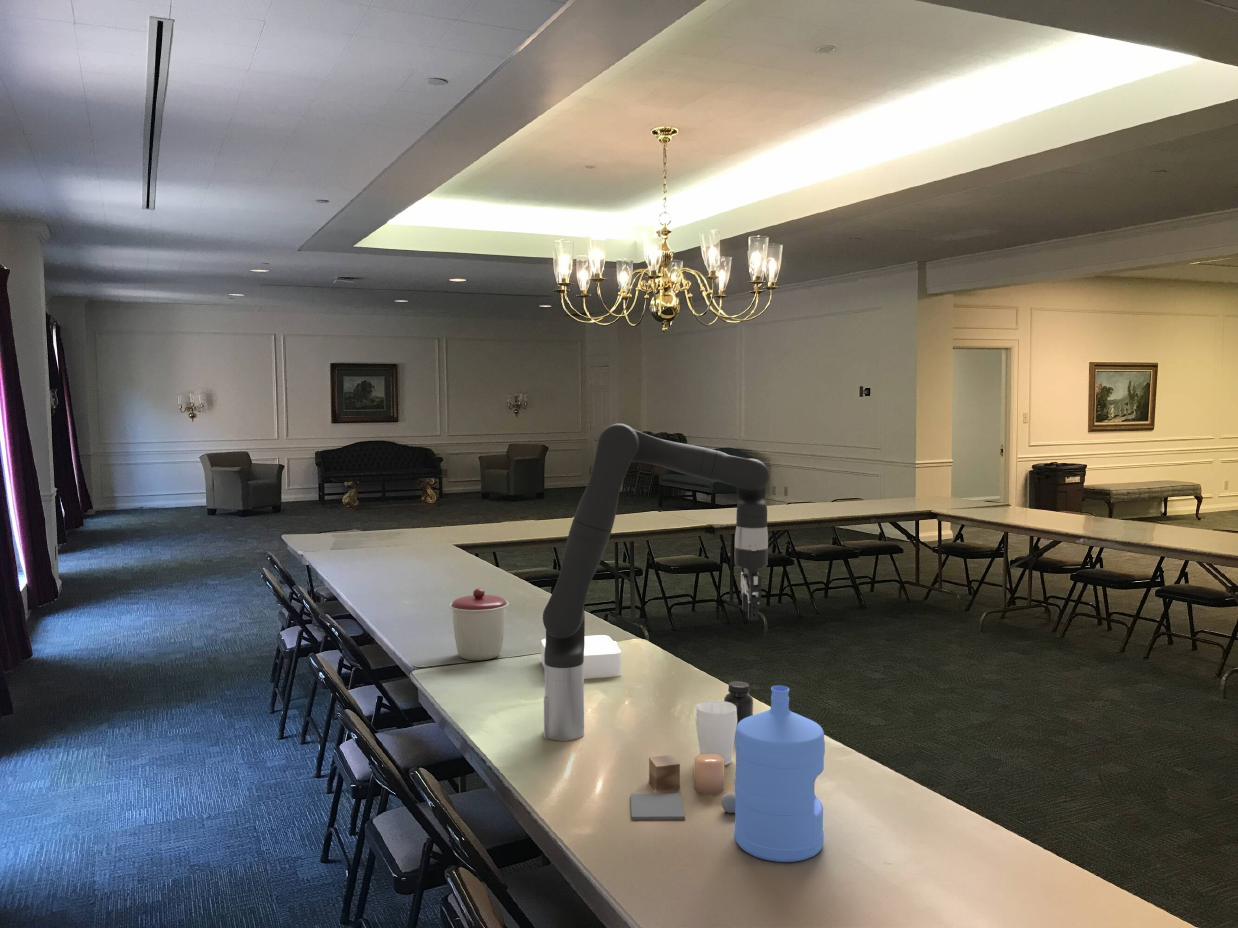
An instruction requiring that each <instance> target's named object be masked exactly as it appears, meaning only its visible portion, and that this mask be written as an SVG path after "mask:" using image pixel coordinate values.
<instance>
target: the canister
mask: <svg viewBox="0 0 1238 928" xmlns="http://www.w3.org/2000/svg"><path fill="white" fill-rule="evenodd" d="M472 594H473V595H465V596H462V597H459V598H458V597H457V598H456V599H454V600H453V601H452V602H450V603H449V605H448V607H449V608H450V609H451V615H452V616H451V617H452V624H453V634H454V640H455V645H456V646H455V647H456V650H457V653H458V655H459V656H460V657H461V658H463V659H465V660H468V661H486V660H491V659H494V658H496V657H498V656H499V655H500V654H501V652H502V649H503V644H504V637H505V630H506V629H505V627H506V617H507V607H508V606H509V601H508V600H506V599H504V598H503V597H500V596H497V595H493V594H486V593H485V590H484V589H483V588H475V589H474V590H473V592H472Z"/></svg>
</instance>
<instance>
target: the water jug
mask: <svg viewBox="0 0 1238 928" xmlns="http://www.w3.org/2000/svg"><path fill="white" fill-rule="evenodd" d="M770 691H771V697H770V705H771V706H770V709H768V710H765V711H762V712H758V713H754V714H753V715H752V716H749V717H746V718H744V719H742V720H741V721H740V722H739V723H738V724H737V727H736V735H735V740H734V747H735V748H734V749H735V779H734V794H735V796H736V811H735V812H734V815H735V819H734V821H735V823H734V839H735V841H736V843H737V845H738V846H739V848H741V849H742V850H743V851H744V852H746V853H748V854H750V855H751V856H753V857H755V858H758V859H762V860H765V861H770V862H777V863H795V862H800V861H801V862H802V861H805V860H807V859H810V858H812V857H814V856H816V855H817V854H818V853H819V852H820V851H821V850H822V848H823V846H824V834H825V833H824V832H825V831H824V807H823V803H822V801H821V799H820V798H818V797H817V796H816V794H815V784H816V779H817V778H818V777H819V776H820V775H821V774H822V773H823V771H824V768H825V763H824V762H825V752H826V751H825V750H826V742H825V731H824V730H823V728H822V727H821V725H820V724H818V722H816V721H814V720H812V719H810V718H807V717H805V716H802V715H800V714H799V713H796V712H793V711H791V710H790V708H789V706H790V705H789V704H790V703H789V702H790V697H789V692H790V688H789V687H787V686H786V685H785V686H784V685H773V686H771V688H770Z"/></svg>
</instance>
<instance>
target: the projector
mask: <svg viewBox="0 0 1238 928" xmlns="http://www.w3.org/2000/svg"><path fill="white" fill-rule="evenodd" d="M540 642H541V644H540V646H541V648H540V649H541V651H540V653H541V655H540V656H541V664H542V667H543V669H544V670H545V663H544V652H545V644H546V638H544V639H541V641H540ZM621 675H622V650H621V649H620V647H619V646H618V642H617V641H616V640H613V639H612V638H611V637H610V636H609V635H604V634H601V635H600V634H596V635H585V645H584V680H585V679H599V678H600V679H601V678H614V677H620V676H621Z"/></svg>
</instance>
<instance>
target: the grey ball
mask: <svg viewBox="0 0 1238 928" xmlns="http://www.w3.org/2000/svg"><path fill="white" fill-rule="evenodd" d="M720 801H721V803H720V804H721V807H722V809H723V810H724V811H725V812H726V813H729V814H735V811H736V796H735V793H733V792H729V793H728V792H727V793H726V794H724V795H723V797H722V798H721V800H720Z"/></svg>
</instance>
